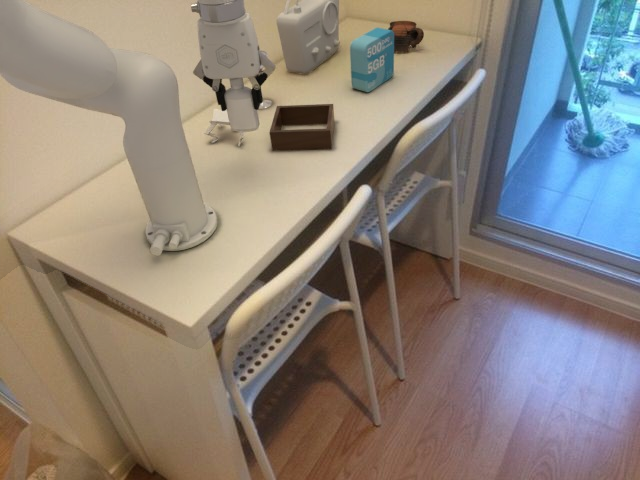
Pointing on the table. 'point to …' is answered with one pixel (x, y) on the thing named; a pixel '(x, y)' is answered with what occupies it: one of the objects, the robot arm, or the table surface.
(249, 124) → the eye dropper bottle
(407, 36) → the pottery mug
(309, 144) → the square wooden box frame
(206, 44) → the robot arm
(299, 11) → the radio
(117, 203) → the table surface
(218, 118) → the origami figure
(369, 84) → the data package
